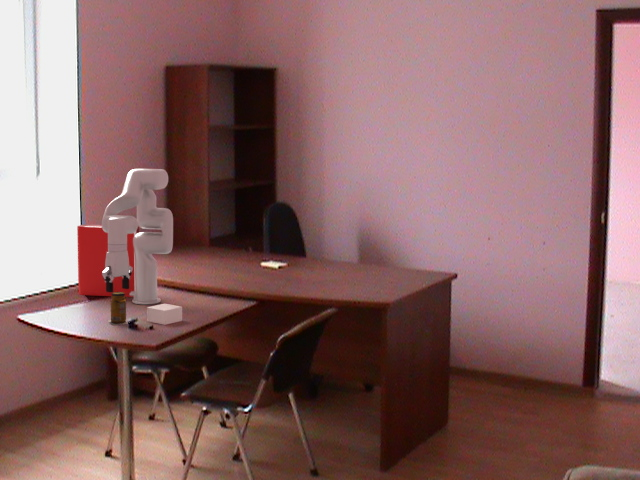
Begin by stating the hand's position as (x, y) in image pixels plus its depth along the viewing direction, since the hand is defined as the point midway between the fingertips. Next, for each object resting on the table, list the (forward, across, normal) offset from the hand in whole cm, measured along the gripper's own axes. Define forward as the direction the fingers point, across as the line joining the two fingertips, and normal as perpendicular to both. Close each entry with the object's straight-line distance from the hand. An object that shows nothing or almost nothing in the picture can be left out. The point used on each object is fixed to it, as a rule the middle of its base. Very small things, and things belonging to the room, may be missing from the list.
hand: (117, 290), depth 369 cm
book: (+12, -44, -42) cm, 62 cm away
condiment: (+14, -1, 0) cm, 14 cm away
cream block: (+13, -13, +14) cm, 23 cm away
